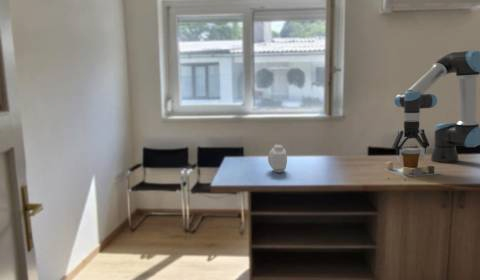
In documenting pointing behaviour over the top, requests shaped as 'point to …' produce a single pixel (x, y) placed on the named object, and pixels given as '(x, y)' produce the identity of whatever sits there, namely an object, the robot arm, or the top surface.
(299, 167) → the top surface
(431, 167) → the stool leg
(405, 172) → the board
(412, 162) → the disposable coffee cup
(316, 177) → the top surface
